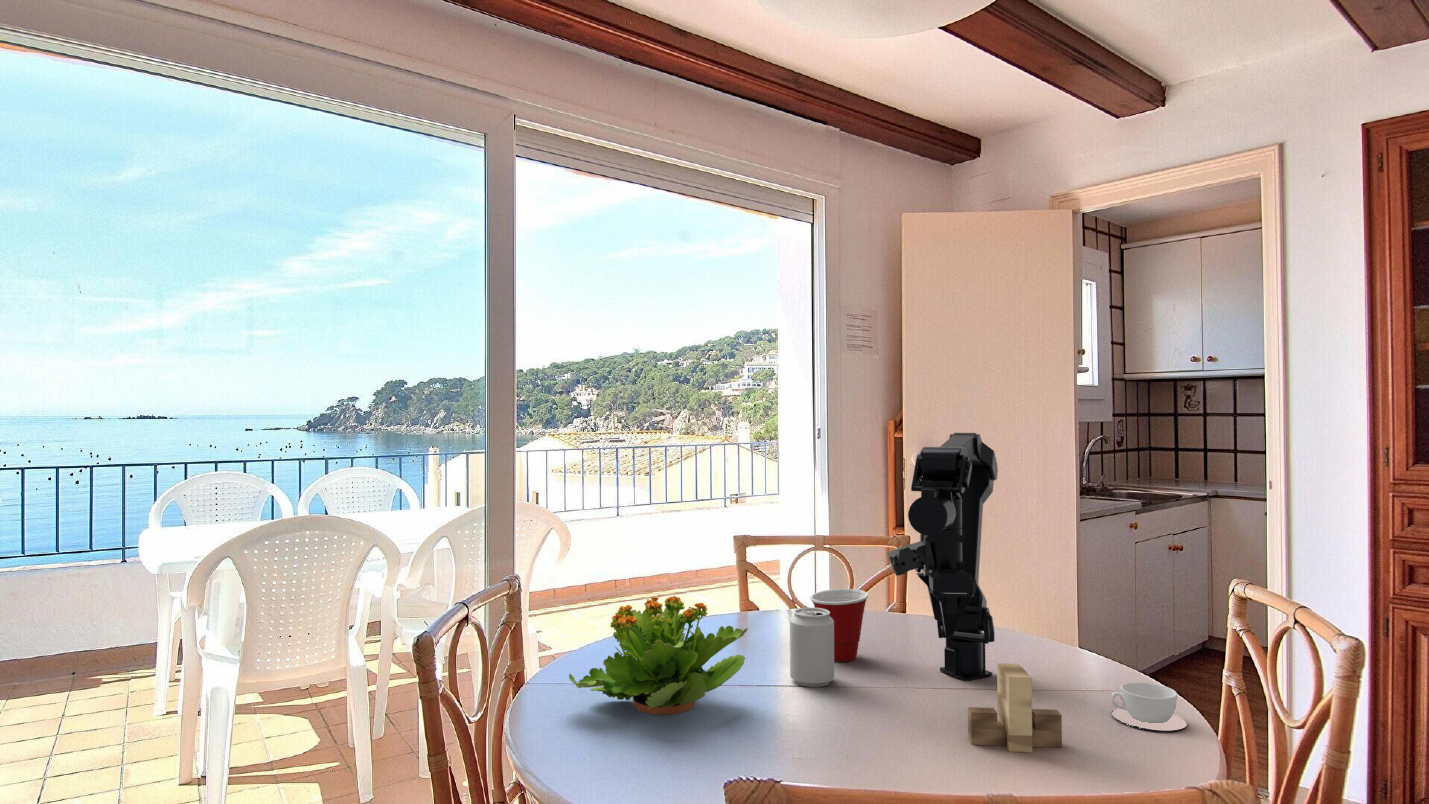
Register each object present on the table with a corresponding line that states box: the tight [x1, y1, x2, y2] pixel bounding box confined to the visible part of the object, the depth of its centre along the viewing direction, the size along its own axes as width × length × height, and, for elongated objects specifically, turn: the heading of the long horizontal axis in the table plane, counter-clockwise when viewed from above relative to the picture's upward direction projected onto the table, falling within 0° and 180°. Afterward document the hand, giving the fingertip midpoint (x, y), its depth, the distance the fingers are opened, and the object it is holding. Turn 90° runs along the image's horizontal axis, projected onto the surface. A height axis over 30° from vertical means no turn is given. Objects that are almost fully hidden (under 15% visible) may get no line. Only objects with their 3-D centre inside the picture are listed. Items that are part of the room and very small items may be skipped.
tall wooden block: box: [996, 662, 1033, 753], centre depth 114 cm, size 6×3×10 cm, turn 175°
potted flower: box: [568, 595, 748, 716], centre depth 130 cm, size 25×24×18 cm
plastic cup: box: [809, 588, 869, 663], centre depth 154 cm, size 11×11×12 cm
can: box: [789, 606, 835, 688], centre depth 141 cm, size 8×8×12 cm
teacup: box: [1110, 681, 1178, 729], centre depth 122 cm, size 10×10×5 cm
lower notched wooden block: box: [967, 706, 1063, 748], centre depth 114 cm, size 12×2×4 cm, turn 85°
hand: (943, 627), depth 129 cm, fingers open, 9 cm apart
